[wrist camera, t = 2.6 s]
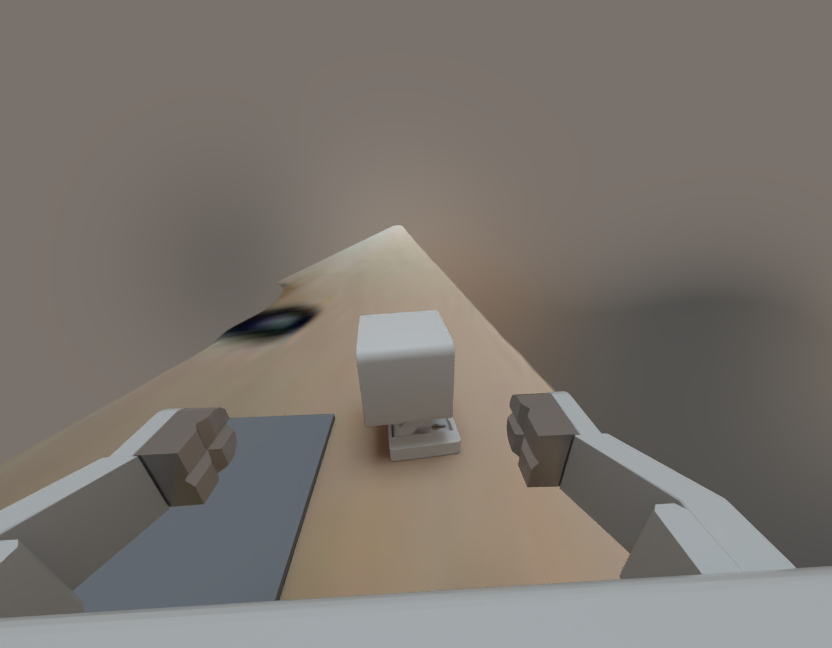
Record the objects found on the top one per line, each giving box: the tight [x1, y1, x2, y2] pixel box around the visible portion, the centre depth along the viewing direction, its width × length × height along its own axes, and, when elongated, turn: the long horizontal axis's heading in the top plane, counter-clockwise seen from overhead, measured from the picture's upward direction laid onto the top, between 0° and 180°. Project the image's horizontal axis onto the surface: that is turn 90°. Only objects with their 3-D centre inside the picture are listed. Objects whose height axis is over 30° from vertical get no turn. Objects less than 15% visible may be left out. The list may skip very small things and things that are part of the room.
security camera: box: [356, 310, 461, 461], centre depth 23 cm, size 6×7×10 cm
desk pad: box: [73, 414, 335, 613], centre depth 19 cm, size 16×16×1 cm
